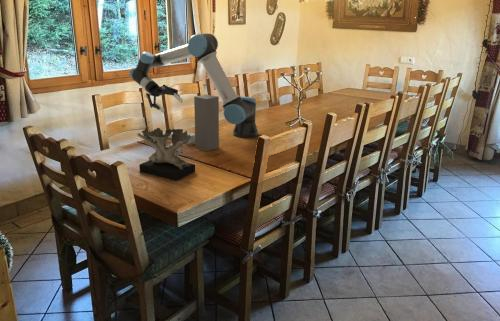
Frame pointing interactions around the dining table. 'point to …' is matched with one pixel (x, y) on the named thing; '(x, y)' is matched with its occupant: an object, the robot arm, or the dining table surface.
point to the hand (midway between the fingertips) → (173, 106)
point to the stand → (206, 122)
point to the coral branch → (175, 150)
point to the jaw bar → (192, 139)
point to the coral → (166, 155)
